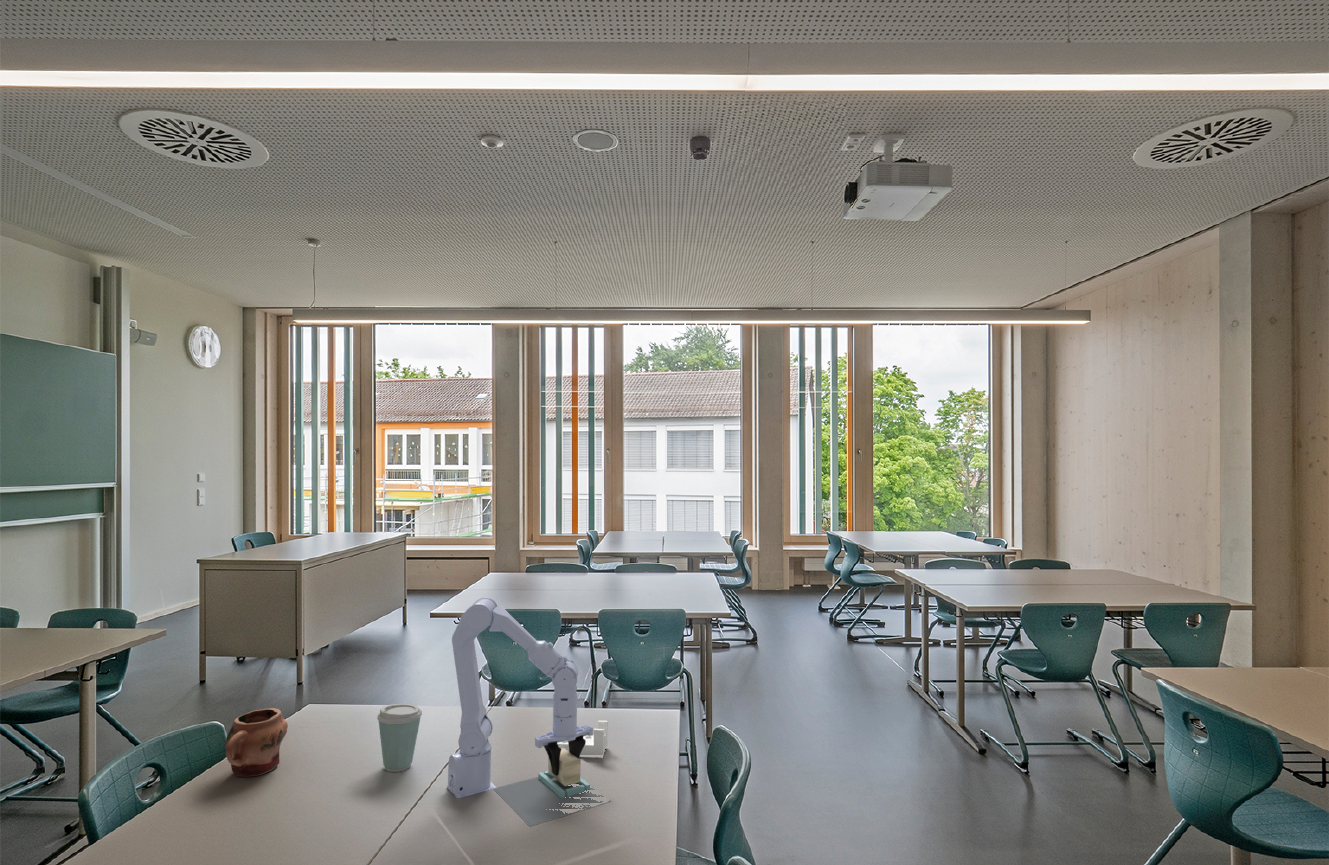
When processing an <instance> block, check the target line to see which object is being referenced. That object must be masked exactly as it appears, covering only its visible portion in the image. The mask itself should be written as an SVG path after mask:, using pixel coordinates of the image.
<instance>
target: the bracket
mask: <svg viewBox="0 0 1329 865" xmlns="http://www.w3.org/2000/svg"><path fill="white" fill-rule="evenodd" d="M608 724H609V721H608V720H597V728H593V735H592V736H588V735H587V736H583V739H585V740H586V743H585V746H584V748H583V749H582V751H581V754H580V755H603V754H604V752H605V753H606V750H607V748H606V746H607V747H608V741H609V740H608V737H609V736H608V735H609V734H608V731H609V730H608V729H609V725H608ZM557 744H558V747H560V748H564V749H566V750H567V751H569V744H568V741H567V740H566V741H562V742H558V743H557ZM605 749H606V750H605Z"/></svg>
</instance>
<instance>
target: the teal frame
mask: <svg viewBox="0 0 1329 865" xmlns="http://www.w3.org/2000/svg"><path fill="white" fill-rule="evenodd" d="M537 774H538V776H537V777H538V778H539V779H540V780H541V781H542V782H543V783H544V784H546V785H547V786H548V787H549V788H550V789H551V790H552V791H554V792H555V793H556V794H557V795H558V796H559V797H561V798H564V797H565V795H566V796H571V795H574V794H578V793H581V792H584V791H585V790H586V791H587V790H590V785H591V784H590V783H589V782H588V781H587V780H585V779H583V777H581V776H580V782H578V783H577V784H579V785H580V786H576V787H573V788H569V789H566V790H565V791H564V790H563V789H562V788H560V787H559V786H558V785H557V784H556V783H554V782H553V781H552V780H551V779H550V778H549V777H552V775H551V774H550V773H548V770H545V771H543V772H538V773H537Z"/></svg>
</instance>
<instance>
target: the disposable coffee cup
mask: <svg viewBox="0 0 1329 865" xmlns="http://www.w3.org/2000/svg"><path fill="white" fill-rule="evenodd" d="M422 712H423V711H422V710H421V709H420V707H418V705H415V704H411V703H394V704H388V705H384V706H382V708H380V710H379V713H378V714H377V720H378V727H379V729H378V730H379V736H380V745H381V746H380V747H381V754H382V765H383V767H384V769H385V771H387V772H391V773H397V772H399V773H400V772H404V771H406V770H408V769H409V768H410V767H411V765H412V763H413V760H414V759H413V758H414V754H415V748H416V745H417V744H416V742H417V738H418V733H419V728H420V722H421V717H422V715H423V714H422Z"/></svg>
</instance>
